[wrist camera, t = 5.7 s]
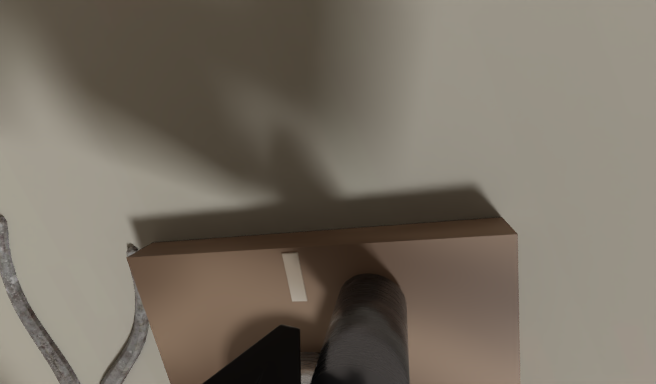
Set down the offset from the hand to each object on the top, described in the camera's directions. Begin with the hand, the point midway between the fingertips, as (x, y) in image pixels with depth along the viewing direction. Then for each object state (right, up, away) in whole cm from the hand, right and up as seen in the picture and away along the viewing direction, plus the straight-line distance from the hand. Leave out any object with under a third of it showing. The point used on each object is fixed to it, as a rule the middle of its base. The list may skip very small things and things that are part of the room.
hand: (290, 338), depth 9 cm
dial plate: (+1, -5, +6) cm, 7 cm away
